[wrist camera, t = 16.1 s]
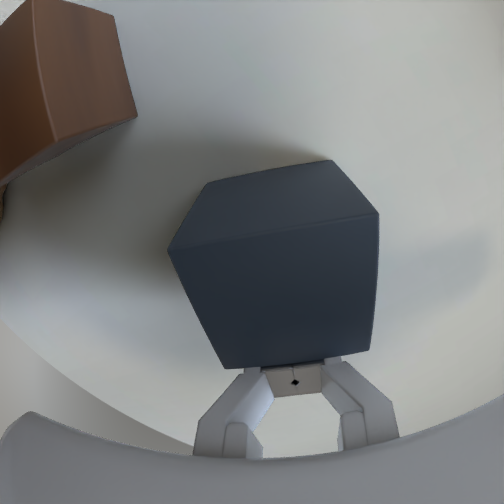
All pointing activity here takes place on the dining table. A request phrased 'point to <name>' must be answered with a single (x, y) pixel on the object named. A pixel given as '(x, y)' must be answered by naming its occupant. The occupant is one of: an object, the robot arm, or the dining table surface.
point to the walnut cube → (57, 82)
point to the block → (0, 203)
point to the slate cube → (281, 265)
